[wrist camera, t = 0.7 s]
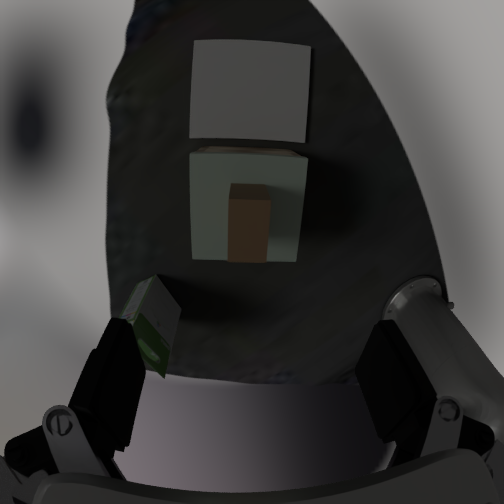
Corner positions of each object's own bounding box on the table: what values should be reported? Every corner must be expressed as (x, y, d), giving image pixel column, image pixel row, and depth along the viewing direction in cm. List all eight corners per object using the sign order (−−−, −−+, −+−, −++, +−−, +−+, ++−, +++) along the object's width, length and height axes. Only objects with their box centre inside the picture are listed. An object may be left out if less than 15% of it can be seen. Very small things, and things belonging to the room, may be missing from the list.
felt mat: (309, 47, 24) (310, 46, 24) (303, 142, 30) (304, 142, 29) (195, 41, 23) (194, 40, 23) (190, 137, 29) (189, 138, 28)
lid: (302, 155, 25) (324, 168, 18) (292, 251, 29) (306, 290, 23) (193, 150, 24) (177, 162, 18) (195, 249, 29) (184, 288, 22)
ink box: (135, 282, 37) (103, 348, 25) (156, 272, 37) (127, 340, 25) (161, 316, 40) (141, 385, 28) (182, 308, 40) (166, 380, 28)
